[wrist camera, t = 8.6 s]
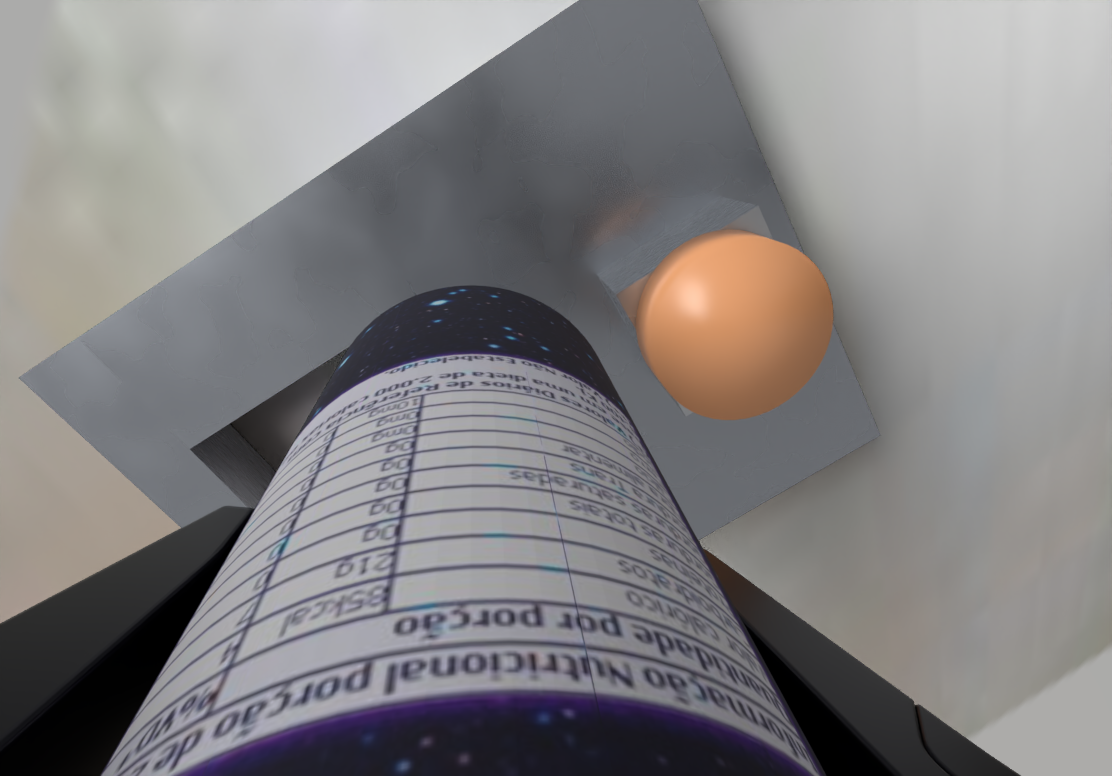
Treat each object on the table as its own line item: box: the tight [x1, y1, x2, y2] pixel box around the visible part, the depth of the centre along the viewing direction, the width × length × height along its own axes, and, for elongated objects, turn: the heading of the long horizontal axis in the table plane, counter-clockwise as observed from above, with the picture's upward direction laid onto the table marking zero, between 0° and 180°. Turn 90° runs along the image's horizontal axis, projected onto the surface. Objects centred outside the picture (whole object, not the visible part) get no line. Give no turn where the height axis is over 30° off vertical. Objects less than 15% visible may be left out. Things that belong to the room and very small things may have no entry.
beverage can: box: [100, 285, 827, 776], centre depth 8 cm, size 6×6×12 cm
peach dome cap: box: [636, 229, 833, 420], centre depth 16 cm, size 4×4×3 cm
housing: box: [19, 0, 880, 540], centre depth 19 cm, size 16×20×5 cm
